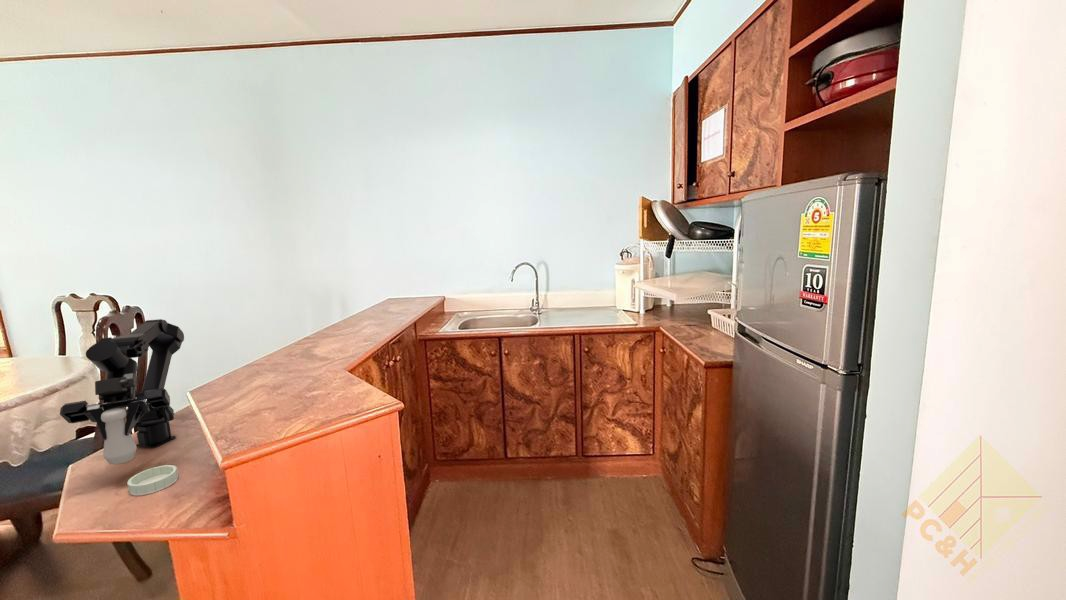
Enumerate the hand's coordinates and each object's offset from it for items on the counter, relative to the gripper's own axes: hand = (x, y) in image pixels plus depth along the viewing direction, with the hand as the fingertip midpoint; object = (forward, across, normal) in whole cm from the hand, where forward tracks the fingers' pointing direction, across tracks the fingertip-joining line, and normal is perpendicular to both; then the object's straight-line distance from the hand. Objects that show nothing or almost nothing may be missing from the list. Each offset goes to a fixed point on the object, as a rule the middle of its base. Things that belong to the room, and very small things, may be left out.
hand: (115, 437), depth 100 cm
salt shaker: (+4, 0, +6) cm, 7 cm away
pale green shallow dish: (+12, +6, +6) cm, 14 cm away
